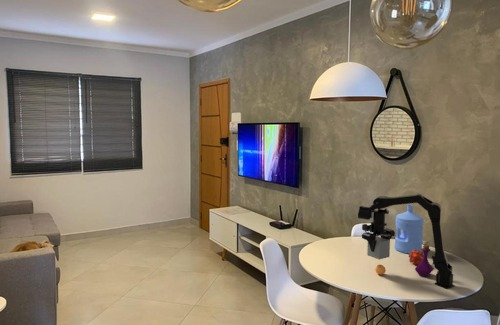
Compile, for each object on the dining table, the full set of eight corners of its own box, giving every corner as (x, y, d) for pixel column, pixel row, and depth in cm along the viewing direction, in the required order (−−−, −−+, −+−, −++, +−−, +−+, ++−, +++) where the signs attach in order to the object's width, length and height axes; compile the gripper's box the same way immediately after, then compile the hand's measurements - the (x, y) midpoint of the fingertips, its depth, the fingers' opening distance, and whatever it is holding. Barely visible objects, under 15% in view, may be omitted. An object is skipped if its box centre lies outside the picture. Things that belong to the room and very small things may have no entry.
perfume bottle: (418, 270, 200) (420, 237, 198) (433, 274, 195) (435, 240, 193) (414, 275, 194) (415, 241, 192) (429, 278, 190) (431, 244, 188)
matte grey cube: (389, 256, 194) (390, 240, 194) (379, 259, 191) (379, 242, 190) (377, 252, 201) (378, 236, 200) (367, 255, 197) (367, 238, 196)
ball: (378, 266, 199) (382, 275, 197) (371, 267, 197) (376, 277, 194) (384, 262, 196) (389, 271, 193) (377, 263, 193) (382, 273, 191)
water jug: (416, 246, 240) (419, 203, 237) (425, 254, 224) (428, 208, 221) (391, 245, 241) (393, 202, 238) (398, 253, 226) (400, 207, 223)
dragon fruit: (412, 262, 216) (422, 273, 205) (401, 254, 215) (411, 265, 203) (423, 251, 215) (433, 262, 203) (412, 243, 213) (421, 253, 202)
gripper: (378, 215, 206) (377, 243, 208) (354, 219, 196) (353, 249, 198) (396, 220, 196) (394, 249, 198) (371, 224, 187) (369, 255, 189)
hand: (377, 250), depth 196 cm, fingers closed on matte grey cube, 8 cm apart
